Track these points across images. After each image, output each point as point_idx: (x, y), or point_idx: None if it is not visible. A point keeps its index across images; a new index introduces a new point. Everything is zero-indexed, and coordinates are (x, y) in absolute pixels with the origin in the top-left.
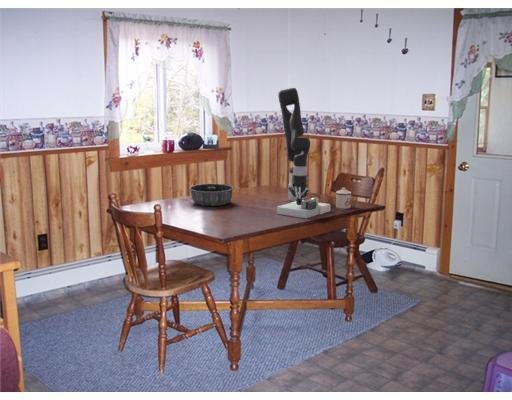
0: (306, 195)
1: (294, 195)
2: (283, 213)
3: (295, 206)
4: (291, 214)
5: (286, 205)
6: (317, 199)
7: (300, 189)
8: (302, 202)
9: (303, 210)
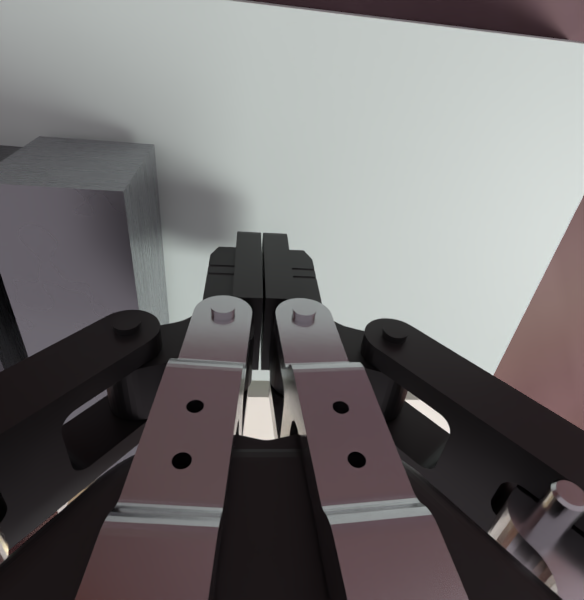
0: (75, 433)
1: (388, 342)
2: (457, 26)
3: (337, 257)
4: (299, 7)
5: (493, 246)
6: (68, 501)
7: (114, 522)
8: (89, 184)
9: (5, 2)
